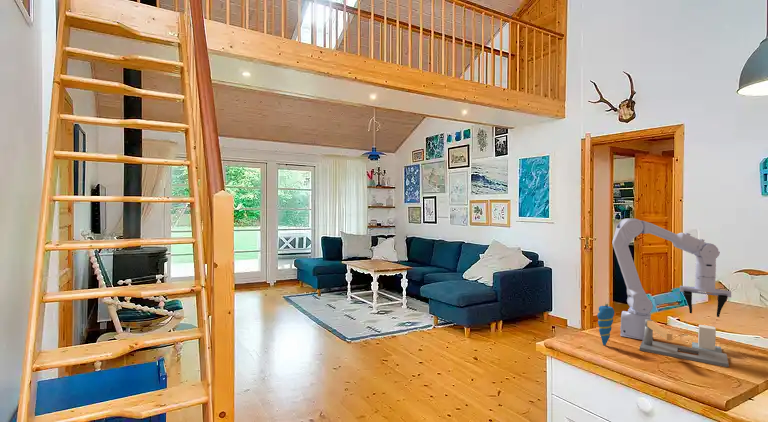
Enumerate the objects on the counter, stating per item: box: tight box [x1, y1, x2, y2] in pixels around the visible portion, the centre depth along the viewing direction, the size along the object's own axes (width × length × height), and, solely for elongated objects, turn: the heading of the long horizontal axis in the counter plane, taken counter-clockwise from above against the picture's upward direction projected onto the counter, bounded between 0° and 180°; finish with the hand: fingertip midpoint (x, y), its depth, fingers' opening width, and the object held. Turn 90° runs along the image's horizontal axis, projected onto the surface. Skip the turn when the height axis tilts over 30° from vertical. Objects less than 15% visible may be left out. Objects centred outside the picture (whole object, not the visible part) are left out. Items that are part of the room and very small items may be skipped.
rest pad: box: [691, 341, 723, 353], centre depth 144 cm, size 8×8×1 cm
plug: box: [697, 324, 717, 350], centre depth 144 cm, size 4×4×7 cm
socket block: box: [638, 326, 729, 368], centre depth 138 cm, size 23×12×7 cm, turn 53°
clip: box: [645, 319, 673, 342], centre depth 136 cm, size 18×2×2 cm, turn 166°
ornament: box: [596, 303, 615, 346], centre depth 144 cm, size 5×5×15 cm
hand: (704, 314), depth 150 cm, fingers open, 7 cm apart
